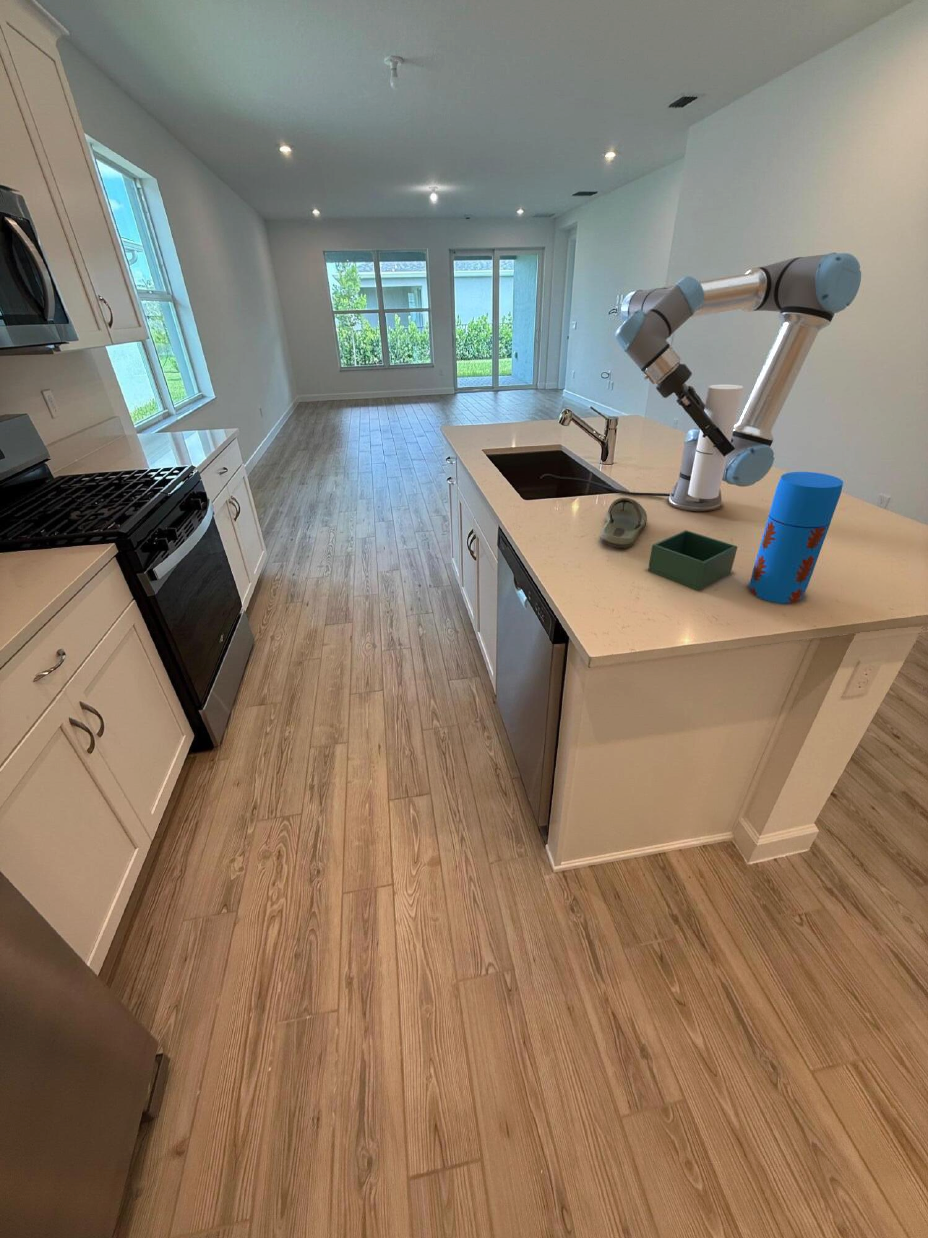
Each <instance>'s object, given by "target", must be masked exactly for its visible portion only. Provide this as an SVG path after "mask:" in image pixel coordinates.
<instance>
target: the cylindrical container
mask: <svg viewBox="0 0 928 1238" xmlns="http://www.w3.org/2000/svg"><path fill="white" fill-rule="evenodd" d="M743 390H744V386H743V385H740V384H729V383H727V384H712V385H708V388H707V393H706V396H705V397H706V398H705V403H704V404H705V408H704V411H705V413H706V414H707V415H708V417H709V418H710V419H711V421H712V422H713V423H714V425H716V427H718V428H719V429H720V430H721V432H722V433H723V434H724V435H725V437H726V438H727V439H728V440H729V441H730V443H731V438H732V434H733V430H734V425H736V421H737V417H738V411H739V408H740V403H741V398H742V394H743ZM706 428H707V427H706ZM706 428H705V429H706ZM702 435H704V434H703V432H702V431H701V430H700V433H699V439H698V444H697V450H696V454H695V459H694V464H693V469H692V475H691V480H690V485H689V490H688V494H689V495H690V496H692V497H695V498H700V499H713V498H716V497H718V495H719V491H720V490H721V486H722V481H723V480H722V478H723V474H724V469H725V465H726V460H727V456H728V454H727V455H726V456H725V457H724V456H723V455H722V454H721V453H720V451H719V450H718V449H717V448H716V446H715V445H714V444H713V443H712V442H711V440H710V439H709V438H708V437H707V436H706V437H705V438H703V436H702Z"/></svg>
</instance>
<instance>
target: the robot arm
mask: <svg viewBox="0 0 928 1238" xmlns="http://www.w3.org/2000/svg"><path fill="white" fill-rule="evenodd" d="M861 282H862V271H861V263H860V262H859V260H858V258H856V257H855V256H854V255H853V254H851V253H847V252H841V253H840V252H839V253H838V252H829V253H826V254H825V253H824V254H816V255H809V256H808V255H807V256H799V257H792V258H788V259H784V260H781V261H778V262H774V263H771V264H767V265H763V266H759V267H754V268H751V269H749V270H748V271H746V273H744V274H739V275H731V276H725V277H719V278H713V279H707V280H701V281H700V280H697V279H696V278H695V277H693V276H690V275H686V276H683V277H682V278H681V279H680V280H678V281H677V282H675V283H674V285H669V286H663V287H656V288H651V289H638V290H635V291H631V292H630V293H628V294H627V295H626V296H625V297H624V299H623V301H622V303H621V306H620V317H621V319H622V321H623V323H622V324H621V325H620V326H619V327H618V328H617V330H615V333H614V334H615V335H614V337H615V339H616V341H617V343H618V345H620V347H621V349H622V350H623V352H625V353H626V354H627V355H628V356H629V358H630V359H631V360H632V361H633V362H634V364H635V365H636V366H637V367H638V368H639V369H640V371H641V372H642V373H643V374H644V376H643V380H645V381H646V380H649V381H650V383H651V384H652V385H656V386H655V389H656V391H657V392H658V393H659V394H660V396H661V397H662V398H664V399H667V398H668V397H670V396H671V395H672V394H675V396H676V397H677V398H676V400H675V402H676V403H677V404H678V406H681V407H682V408H683V410H684V411H685V412H686V413H687V415H688V416H689V417H690V418H691V420H692V421H693V422H694V423H695V424H696V426H697V427H694V428H691V429H689V430H688V432H687V433H686V437H685V441H684V445H683V451H682V456H681V457H682V458H681V463H680V464H681V465H680V469H679V474H678V478H677V481H676V482H675V484H674V486H673V488H672V489H671V492H670V493H663V492H635V491H626V490H621V489H619V488H616V487H611V486H609V485H605V484H603V483H599V482H597V481H593V480H589V479H584V478H583V479H582V478H577V477H566V476H558V475H555V474H551V473H545V474H542V475H541V477H540V479H544V478H548V477H549V478H552V479H556V480H563V481H574V482H581V483H586V484H590V485H594V486H597V487H600V488H604V489H606V490H610V491H613V492H616V493H619V494H623V495H629V496H644V497H646V496H648V497H649V496H650V497H668V504H669V505H670V506H672V507H673V508H676V509H679V510H682V511H689V512H699V513H700V512H703V513H704V512H712V511H715V510H718V509H719V508H720V507H721V505H722V501H723V499H722V492H721V491H722V490H721V489H720V491H719V495H718V497H716V498H713V499H700V498H695V497H692V496H690V495H689V494H688V490H689V485H690V480H691V475H692V469H693V464H694V459H695V454H696V450H697V444H698V439H699V433H700V430H701V431H702V432H703V434H704V435H702V436H703V438H705V437H706V436H707V437H708V438H709V439H710V440H711V442H712V443H713V444H714V445H715V446H716V448H717V449H718V450H719V451H720V453H721V454H722V455H723V456H724V457H725V456H726V455H727V454H728V456H727V460H726V465H725V469H724V474H723V478H722V481H723V482H726V483H727V484H728V485H733V486H737V487H740V488H741V487H743V488H746V487H750V486H753V485H755V484H756V483H758V482H760V481H761V480H762V479H764V477H766V475H767V474H768V473H769V472H770V470H771V468H772V467H773V464H774V462H775V457H774V455H775V452H774V450H773V449H772V447H771V446H772V445H773V442H774V441H775V439H774V436H773V434H772V431H773V428H774V426H775V425H776V422H777V420H778V418H779V415H780V414H781V411H782V409H783V407H784V405H785V403H786V401H787V399H788V397H789V395H790V392H791V391H792V389H793V386H794V384H795V382H796V380H797V378H798V376H799V374H800V372H801V370H802V368H803V365H804V363H805V361H806V359H807V357H808V355H809V354H810V350H812V349H811V348H812V347H813V344H814V343H815V340H816V338H817V336H818V334H819V332H820V331H822V330H823V329H825V328H826V327H828V326H830V324H831V323H832V321H833V318H834V316H835V314H838V313H840V312H842V311H845V309H846V308H847V307H849V306H850V305H851V304H852V303H853V302H854V300H855V299H856V297H857V294H858V292H859V289H860V286H861ZM736 310H737V311H738V310H742V311H743V312H746V313H750V312H757V311H759V312H761V311H762V312H763V311H765V312H778V313H779V314H778V318H779V320H780V323H781V325H780V327H779V330H778V332H777V334H776V336H775V338H774V341H773V342H772V345H771V347H770V350H769V352H768V354H767V356H766V359H765V361H764V363H763V365H762V368H761V370H760V372H759V373H758V376H757V379H756V380H755V383H754V386H753V388H752V390H751V393H750V394H749V397H748V399H747V401H746V404H745V406H744V408H743V410H742V413H741V415H740V417H739V419H738V421H737V422H736V423H735V425H734V430H733V434H732V438H731V443H730V441H729V440H728V439H727V438H726V437H725V435H724V434H723V433H722V432H721V430H720V429H719V428H718V427H716V425H714V423H713V422H712V421H711V419H710V418H709V417H708V415H707V414H706V413H705V411H704V408H705V403H704V401H702V399H701V396H700V395H699V394H698V393H697V391H696V389H695V387H694V386H693V385H687V381H688V380H689V379H690V378H691V377H692V375H693V373H692V371H691V370H690V368H689V367H688V366H687V364H685V363H684V362H681V360H682V358H681V356H680V355H679V354H678V353H677V352H676V351H675V349H674V348H673V347H672V346H671V345H670V343H669V342H668V341H667V340H668V339H669V338H671V336H672V334H674V333H675V332H676V331H677V330H678V329H679V328H680V327H681V326H682V325H683V324H685V323H686V322H687V321H688V320H689V319H690V318H695V317H701V316H706V315H714V314H718V313H724V312H731V311H736ZM706 427H707V428H706ZM705 428H706V429H705Z"/></svg>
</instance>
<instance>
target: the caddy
mask: <svg viewBox="0 0 928 1238" xmlns="http://www.w3.org/2000/svg"><path fill="white" fill-rule="evenodd" d="M738 547H739V546H737V545H734V544H731V543H729V542H726V541H722V540H718V539H715V538H712V537H709V536H706V535H703V534H699V533H697V532H693V531H690V530H686V529H685V530H683V531H681V532H679V533H678V532H677V533H676V534H674V535H671V536H668V537H667V538H665V539H663V540H660V541H658V542H656V543H653V544H652V545H651V550H650V556H649V561H648V568H647V571H648V572H650V573H654V574H655V575H658V576H660V577H663V578H666V579H669V580H670V581H673V582H676V583H679V584H680V585H683V586H686V587H688V588H690V589H694V590H696V591H700V590H702V589H704V588H705V587H708V586H710V585H711V584H713V583H714V582H717V581H718V580H720V579H722V578H723V577H726V576H727V575H729V574H731V573H732V569H733V567H734V562H735V558H736V555H737V551H738Z"/></svg>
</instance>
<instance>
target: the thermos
mask: <svg viewBox="0 0 928 1238" xmlns="http://www.w3.org/2000/svg"><path fill="white" fill-rule="evenodd" d="M843 487H844V481H843V480H842V479H841V478H840V477H837V476H834V475H830V474H827V473H821V472H813V471H792V472H786V473H783V474H781V476H780V478H779V480H778V482H777V485H776V488H775V492H774V496H773V499H772V501H771V502H772V503H771V506H770V509H769V514H768V516H767V520H766V523H765V526H764V530H763V534H762V537H761V540H760V541H761V542H760V544H759V548H758V551H757V555H756V557H755V562H754V565H753V569H752V572H751V577H750V582H749V587H748V588H749V592H751V593H752V595H754V596H755V597H757V598H759V599H762V600H764V601H767V602H771V603H777V604H793V603H794V604H795V603H799V602H800V601H802V600H803V598H804V596H805V594H806V591H807V588H808V586H809V584H810V581H811V578H812V576H813V573H814V570H815V567H816V564H817V561H818V559H819V556H820V554H821V551H822V548H823V545H824V541H825V540H826V537H827V534H828V531H829V528H830V525H831V523H832V520H833V517H834V514H835V512H836V509H837V506H838V503H839V500H840V497H841V494H842V490H843Z"/></svg>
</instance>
